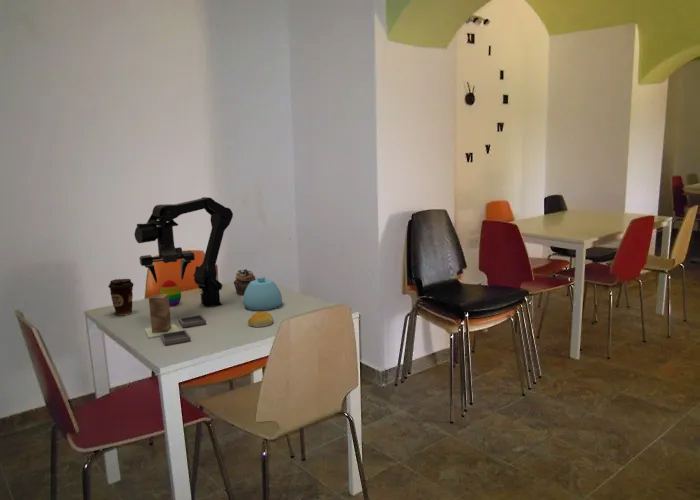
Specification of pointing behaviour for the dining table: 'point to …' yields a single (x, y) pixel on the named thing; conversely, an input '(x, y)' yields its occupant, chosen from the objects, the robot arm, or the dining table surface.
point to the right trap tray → (192, 321)
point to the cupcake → (243, 281)
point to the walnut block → (160, 313)
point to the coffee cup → (121, 296)
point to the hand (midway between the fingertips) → (169, 280)
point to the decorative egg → (171, 292)
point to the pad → (153, 335)
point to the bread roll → (260, 319)
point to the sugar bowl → (262, 295)
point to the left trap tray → (175, 337)
